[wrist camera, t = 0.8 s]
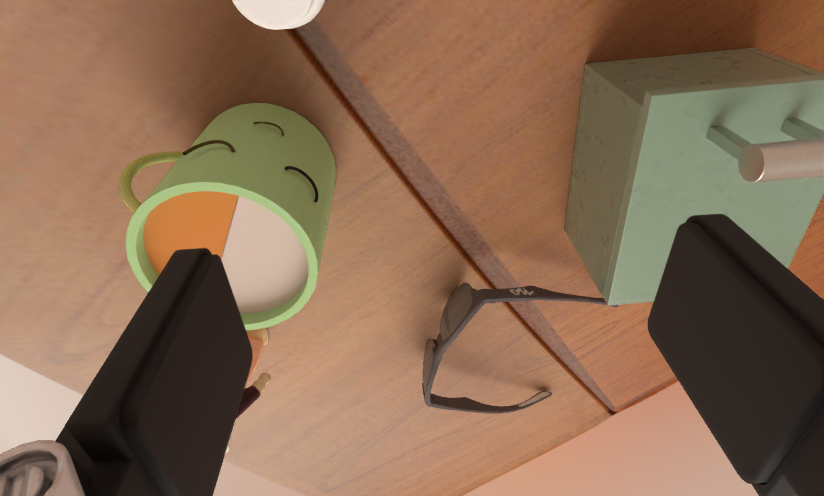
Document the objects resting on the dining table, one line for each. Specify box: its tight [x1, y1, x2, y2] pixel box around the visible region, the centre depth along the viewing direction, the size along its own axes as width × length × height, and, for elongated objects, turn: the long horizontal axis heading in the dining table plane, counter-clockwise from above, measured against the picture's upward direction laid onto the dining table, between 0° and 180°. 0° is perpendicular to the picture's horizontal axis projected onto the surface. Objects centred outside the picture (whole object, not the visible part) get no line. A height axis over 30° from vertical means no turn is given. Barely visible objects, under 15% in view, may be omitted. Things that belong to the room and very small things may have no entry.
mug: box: [119, 103, 336, 330], centre depth 31 cm, size 13×10×12 cm
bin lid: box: [604, 74, 824, 306], centre depth 27 cm, size 14×12×6 cm
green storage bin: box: [564, 48, 824, 297], centre depth 33 cm, size 14×12×9 cm
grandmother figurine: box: [225, 328, 271, 454], centre depth 41 cm, size 8×4×13 cm, turn 117°
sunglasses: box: [422, 283, 618, 413], centre depth 46 cm, size 16×17×5 cm
